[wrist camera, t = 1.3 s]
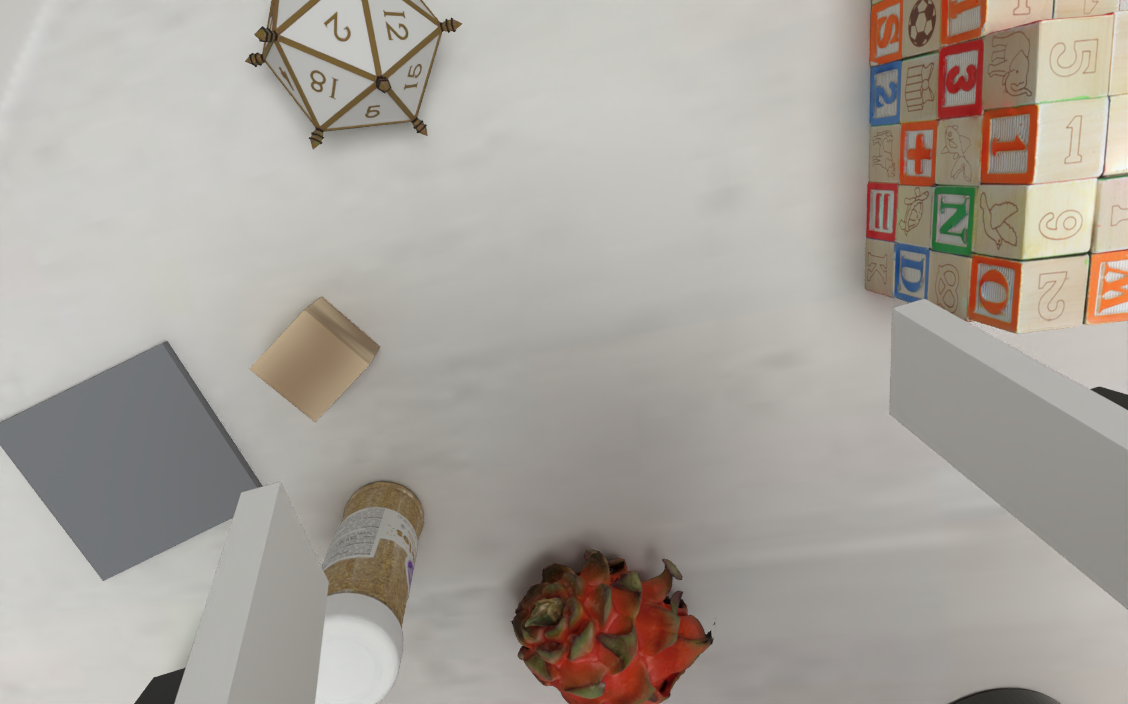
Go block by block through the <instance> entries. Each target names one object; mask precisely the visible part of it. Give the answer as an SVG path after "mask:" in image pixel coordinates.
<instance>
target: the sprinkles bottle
mask: <svg viewBox="0 0 1128 704" xmlns="http://www.w3.org/2000/svg"><path fill="white" fill-rule="evenodd" d="M423 524H424V512H423V510H422V506H421V504H420V502H419V501H418V499H417V498H416V496H415V495H414V494H413V493H412V492H411V491H410V490H408V489H406V488H405V487H403V486H401V485H398V484H394V483H389V482H376V483H373V484H370V485H367V486H365V487H362V488H361V489H359V490H358V491H357V492H356V493H354V494H353V495H352V496H351V498H350V500H349V501H348V503H347V505H346V507H345V511H344V515H343V520H342V523H341V524H340V526H339V527H338V529H337V531H336V534H335V536H334V538H333V541H332V543H331V545H330V548H329V550H328V552H327V555H326V557H325V560H324V562H323V564H322V569H323V571H324V573H325V575H326V577H327V579H328V582H329V585H328V594H327V603H326V612H325V620H324V629H323V638H322V647H321V655H320V664H319V673H318V681H317V690H316V699H315V704H376V703H378V702H379V701H380V700H382V699H383V698H384V697H385V696H386V694H387V693H388V692H389V691H390V689H391V688H392V686H393V685H394V683H395V681H396V678H397V675H398V672H399V667H400V662H401V657H402V651H403V641H404V640H403V632H402V623H403V617H404V613H405V607H406V602H407V600H408V597H409V591H410V585H411V580H412V574H413V569H414V564H415V560H416V555H417V548H418V539H419V535H420V534H421V531H422V528H423Z"/></svg>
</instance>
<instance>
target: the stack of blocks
mask: <svg viewBox="0 0 1128 704" xmlns="http://www.w3.org/2000/svg"><path fill="white" fill-rule="evenodd" d="M1119 10H1120V0H872V9H871V31H870V66H871V67H872V68H871V89H870V125H871V128H870V152H869V183H868V190H867V231H866V237H867V239H866V254H865V289H866V290H869V291H872V292H876V293H879V294H882V295H886V296H889V297H893V298H898V299H900V300H903V301H906V302H910V303H911V302H915V301H918V300H922V299H926V300H928V301H930V302H931V303H933V304H935V305H937V306H939V307H941V308H942V309H944V310H946V311H948V312H950V313H951V314H953V315H955V316H957V317H959V318H961V319H962V320H964V321H967V322H972V321H977V322H980V323H983V324H986V325H990V326H993V327H996V328H999V329H1003V330H1006V331H1009V332H1013V333H1019V334H1020V333H1028V332H1036V331H1045V330H1054V329H1064V328H1074V327H1080V326H1082V324H1085V325H1095V324H1103V323H1111V322H1120V321H1127V320H1128V10H1123V11H1119Z"/></svg>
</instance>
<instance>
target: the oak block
mask: <svg viewBox="0 0 1128 704" xmlns="http://www.w3.org/2000/svg"><path fill="white" fill-rule="evenodd" d="M379 348H380V346H379V345H378V344H377V343H375V342H374V341H373V340H372V339H371V338H370V337H368V336H367V335H366V334H365V333H364V332H363V331H361V330H360V329H359V328H358V327H357V326H356V325H355V324H353V323H352V322H351V321H350V320H349V319H348V318H346V317H345V316H344V315H343V314H342V313H341V312H339V311H338V310H337V309H336V308H335V307H334V306H333V305H331V304H330V303H329V302H328V301H327V300H326V299H324V298H323V297H321V298H319V299H318V300H317V301H315V302H314V303H313V304H311V305H310V306H309V307H307V308H306V309H305V310H304V311H303V312H302V313H301V314H300V315H299V316H298V317H297V318H296V319H295V320H294V321H293V322H292V324H291V325H290V326H289V327H288V328H287V329H286V330H285V331H284V332H283V333H282V334H281V335H280V336H279V338H278V339H277V340H276V341H275V342H274V343H273V344H272V345H271V346H270V347H269V348H268V349H267V350H266V351H265V353H264V354H263V355H262V356H261V357H260V358H259V359H258V360H257V361H256V362H255V363H254V364H253V365H252V367H251V368H250V370H251V371H252V372H253V373H255V374H256V375H257V376H258V377H260V378H261V379H262V380H263V381H264V382H266V383H267V384H268V385H269V386H271V387H272V388H273V389H274V390H276V391H277V392H278V393H279V394H281V395H282V396H283V397H284V398H286V399H287V400H288V401H289V402H291V403H292V404H293V405H294V406H295V407H297V408H298V409H299V410H300V411H302V412H303V413H304V414H305V415H307V416H308V417H309V418H310V419H312V420H313V421H314V422H316V421H317V420H318V419H319V418H320V417H321V415H322V414H323V413H324V412H325V411H326V410H327V409H328V408H329V407H330V406H331V405H332V404H333V403H334V402H335V401H336V400H337V399H338V398H339V397H340V395H341V394H342V393H343V392H344V391H345V390H346V389H347V388H348V387H349V386H350V385H351V384H352V383H353V382H354V381H355V380H356V379H357V378H358V377H359V375H360V374H361V373H362V372H363V371H364V370H365V369H366V368H367V367H368V366H369V365H370V363H371V362H372V360H373V358H374V356H375V355H376V353H377V351H378V350H379Z"/></svg>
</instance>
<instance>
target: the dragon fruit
mask: <svg viewBox="0 0 1128 704" xmlns="http://www.w3.org/2000/svg"><path fill="white" fill-rule="evenodd" d="M584 558H585V560H587V559H588V558H589V559H588V561H587V563H586V565H585V566H584V568H583V569H582V571H581V572H578V573H574V571H573V570H572V569H571V568H569V567H567V566H564V565H559V564H552V565H549V566H547V567H545V568H543V573H542V576H543V580H542V582H541V584H537V585H533V586H532V587H531V588H530V590H529V591H528V592H527V594H526V596H525V597H524V598H523V600H522V601H521V602H520V603H519V605H518V608H517V609H516V610H515V613H516V616H515V617H514V619H513V621H511V622H512V624H513V627H514V632H515V635H516V637H517V639H518V641H519V642H520V644H522V645H523V646H522V647H521V649H520V651H519V653H518V658H520V659H521V660H524V662H525V664H526V666H527V667H528V668H529V669H530V671H531V672H532V673H533V674H534V676H535V677H536V678H537V679H538V681H540V682H541V683H542V684H543V685H545V686H554V687H556V688H557V689H558V690H559V691H560V692H561V694H562V696H563V698H564V699H565V700H566V701H567V702H568V703H569V704H659V703H661V702H663V701H664V700H666V699H668V698H669V697H670V691H671V689H672V687H673V685H674V684H675V682H676V681H677V680H678V679H679V677H680V676H681V675H682V674H683V673H684V672H685V670H686V669H687V668H688V667H690V666H691V665H692V664H693V663H694V661H695V660H696V659H697V658H698V657H699V655H700V654H701V653H703V652H704V651H705V650H706V649H707V648H708V647H709V646H710V645H711V644H712V643H713V639H714V638H713V639H712V636H711V631H710V632H708V634H707V635H706V634H705V632H704V629H703V627H702V625H701V623H700V622H699V620H698V619H697V618H695V617H694V616H692V615H688V611H687V605H686V604H685V603H684V601H683V600H682V599H681V596H682V594H683V592H681V591H676V592H675V593H674V594H673V596H672V598H671V599H669V597H668V596H667V594H668V593H669V592H670V590H671V587H672V580H673V578H672V577H675V578H676V579H679V580H682V575H681V573H680V572H679V570H678V569H677V568H676V566H675V565H674V564H673V563H672V562H671V561H670V560H668V559H662V560H663V562H664V564H665V569H664V571H663V573H662V574H661V575H659V576H657V577H655V578H651V579H649V580H647V581H644V582H641V581H640V579H639V575H638V573H637V572H636V571H627V564H626V562H625V560H624V559H622V558H616V559H614V560H606V558H605V557H604V555H603V554H602V553H600V552H599V551H596V550H593V549H590V550H586V551H585V553H584ZM609 568H610V569H613V570H612V571H611V572H610V571H609ZM714 624H715V623H714ZM715 630H716V629H715Z"/></svg>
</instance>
